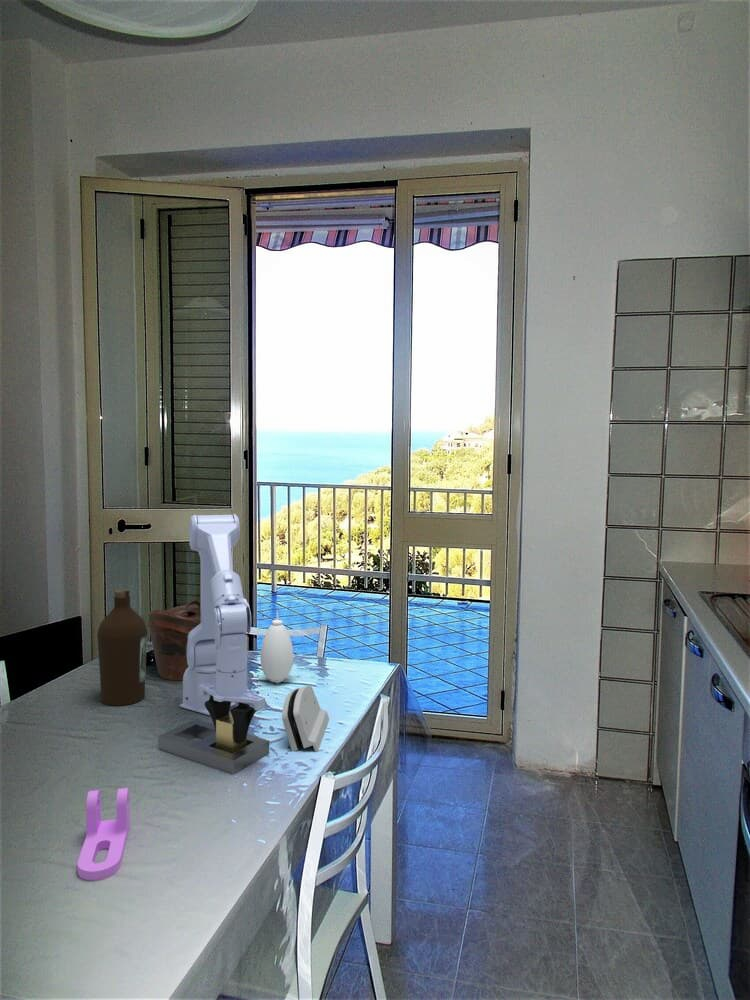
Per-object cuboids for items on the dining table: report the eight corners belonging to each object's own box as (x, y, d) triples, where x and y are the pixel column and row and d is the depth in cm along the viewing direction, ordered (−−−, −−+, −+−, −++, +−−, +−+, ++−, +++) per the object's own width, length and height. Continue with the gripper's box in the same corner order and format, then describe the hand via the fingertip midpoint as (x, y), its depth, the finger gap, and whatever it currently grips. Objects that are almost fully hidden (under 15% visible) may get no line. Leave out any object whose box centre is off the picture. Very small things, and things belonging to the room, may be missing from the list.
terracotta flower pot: (221, 657, 190) (220, 593, 188) (221, 683, 171) (220, 611, 169) (153, 661, 186) (151, 595, 185) (145, 688, 167) (143, 615, 165)
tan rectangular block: (230, 743, 134) (230, 712, 133) (246, 748, 132) (247, 717, 131) (216, 750, 130) (216, 719, 130) (232, 756, 128) (232, 724, 128)
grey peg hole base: (158, 748, 134) (158, 736, 134) (196, 730, 142) (195, 718, 142) (233, 774, 124) (233, 760, 124) (269, 753, 133) (269, 740, 133)
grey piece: (317, 752, 134) (300, 703, 133) (294, 759, 134) (277, 711, 134) (329, 718, 150) (314, 675, 150) (309, 724, 151) (293, 681, 150)
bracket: (91, 830, 106) (90, 786, 105) (129, 826, 107) (129, 783, 107) (73, 883, 93) (73, 833, 93) (117, 878, 95) (117, 829, 94)
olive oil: (96, 709, 153) (94, 596, 150) (99, 692, 163) (98, 586, 161) (147, 704, 156) (146, 594, 154) (147, 688, 166) (147, 584, 164)
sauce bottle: (254, 681, 172) (254, 610, 170) (278, 674, 178) (278, 604, 176) (275, 689, 167) (275, 615, 165) (299, 681, 173) (300, 610, 171)
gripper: (187, 666, 130) (187, 737, 131) (247, 681, 123) (247, 756, 124) (214, 657, 136) (213, 724, 137) (272, 670, 129) (272, 741, 130)
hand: (231, 738), depth 131 cm, fingers closed on tan rectangular block, 4 cm apart
